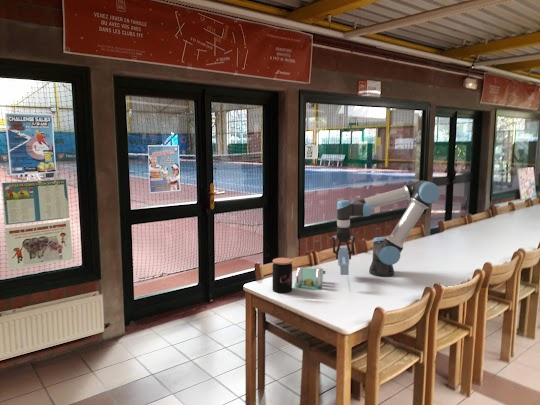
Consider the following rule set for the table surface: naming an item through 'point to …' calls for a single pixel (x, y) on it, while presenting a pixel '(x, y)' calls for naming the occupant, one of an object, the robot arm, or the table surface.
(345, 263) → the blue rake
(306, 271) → the green mat
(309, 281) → the brass nut
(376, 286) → the table surface
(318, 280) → the spacers
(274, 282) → the coffee jar
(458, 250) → the table surface
